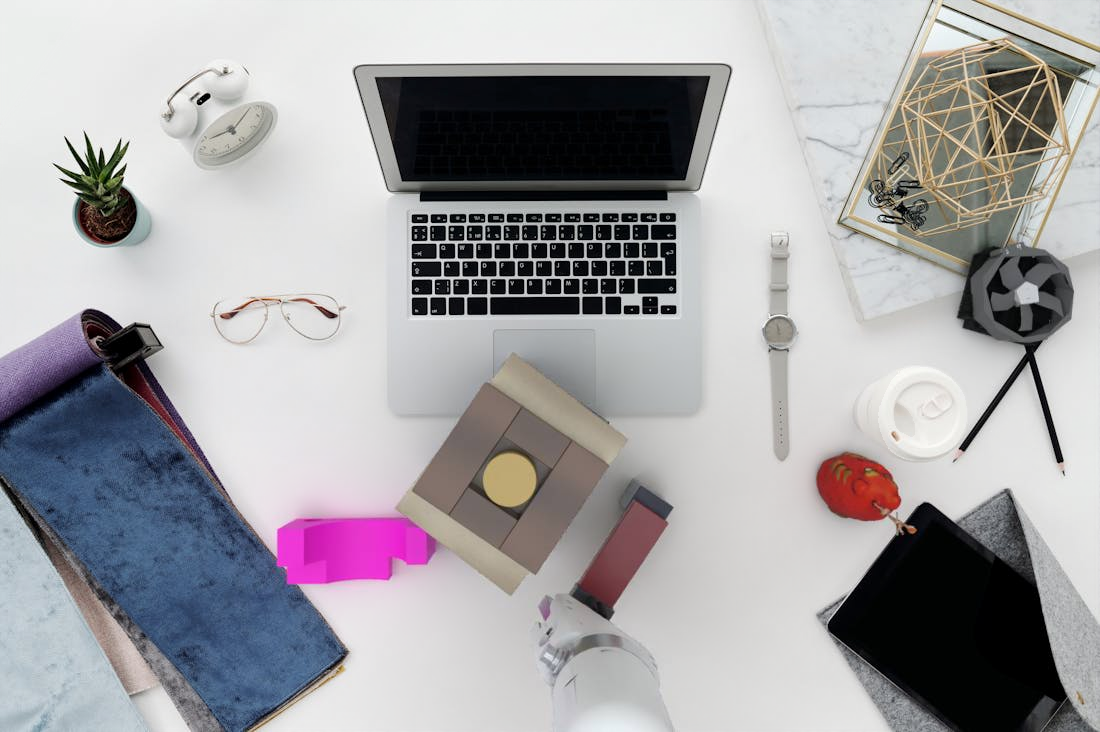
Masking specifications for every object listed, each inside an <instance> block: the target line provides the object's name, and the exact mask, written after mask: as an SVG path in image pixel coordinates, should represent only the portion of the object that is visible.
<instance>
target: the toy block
mask: <svg viewBox="0 0 1100 732" xmlns="http://www.w3.org/2000/svg"><path fill="white" fill-rule="evenodd" d="M435 554H436V539H435V538H433V537H432V536H431V535H429V534H428V533H427V532H425V531H424V530H423V529H421V528H420V527H419V526H417V525H416V524H415V523H414V522H412V521H411V520H410V519H408V518H407V517H406V516H404V517H402V516H401V517H341V518H340V517H337V518H336V517H334V518H333V517H332V518H331V517H329V518H325V517H324V518H296V519H294V520H291V521H290V522H288V523H287V524H284V525H282V526H280V527H279V528H276V567H277V568H286V585H328V584H332V583H338V582H339V583H340V582H345V581H347V582H348V581H360V580H361V581H362V580H378V581H389V580H390V579H391V578H392V577H393V558H394V559H398V560H400V561H403V562H405V564H406V566H427V565H428V564H429V562H430V561H431V559H432V558H433V556H434V555H435Z"/></svg>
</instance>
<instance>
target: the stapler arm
mask: <svg viewBox="0 0 1100 732" xmlns="http://www.w3.org/2000/svg"><path fill="white" fill-rule="evenodd" d="M668 525H669V522H668V521H667V519H666V520H665V519H663V518H662V517H660V516H659V515H657V514H656V513H654V512H653V511H652V510H650V509H649V508H647V507H646V506H644V505H643V504H641V503H640V502H638V501H637V500H635V499H633V500H632V501H631V503H630V504H629V506H628V507H627V509H626V510H625V509H624V512H623V513H622V514H621V516H620V518H619V519H618V521H617V522H616V524H615V525H614V527H613V528H612V529H611V531H610V533H609V534H608V536H607V537H606V538H605V540H604V542H603V543H602V545H601V546H600V548H599V549H598V551H597V552H596V554H595V555H594V556H593V558H592V560H591V561H590V562H589V564H588V565H587V567H586V569H585V570H584V571H583V572H582V574H581V576H580V577H579V579H578V581H576V582H575V584H574V585H573V587H572V588H571V589H570V591H569V592H568V595H570V596H571V597H573V598H575V599H576V600H578V601H581V602H582V603H585V602H586V600H587V599H588V597H589V596H590V595H591V596H592V597H594V598H595V600H596V602H601V603H603V604H604V606H605V609H606V613H607V618H606V619H607V620H609V621H610V622H611V619H612V618H613V616H614V615H615V609H614V606H615V605H616V603H617V602H618V601H619V599H620V597H621V596H622V595H623V593H624V591H625V590H626V588H627V587H628V586H629V584H630V583H631V581H632V579H633V578H634V577H635V575H636V573H637V572H638V571H639V569H640V568H641V566H642V564H643V563H644V562H645V560H646V558H647V557H648V556H649V554H650V553H651V551H652V550H653V548H654V546H655V545H656V543H657V542H658V540H659V539H660V538H661V536H662V534H663V533H664V531H665V530H666V528H667V527H668Z"/></svg>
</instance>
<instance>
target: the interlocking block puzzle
mask: <svg viewBox="0 0 1100 732" xmlns="http://www.w3.org/2000/svg"><path fill="white" fill-rule="evenodd" d="M628 441H629V438H627V437H626V436H625V435H623V434H622V433H620V432H619V431H618V430H617V429H615V428H614V427H613V426H612V425H610V421H609V420H607V419H605V418H604V417H603V416H601V415H599V414H598V413H596V411H593V410H592V409H590V407H587V405H585V404H583V403H582V402H580V401H579V400H577V399H576V398H575V397H573V396H572V395H570V394H569V393H568V392H566V390H564V389H562V388H561V387H560V386H558V384H556V383H555V382H554V381H552V380H550V379H549V378H548V377H547V376H545V375H544V374H543V373H541V372H540V371H538V370H537V368H535V367H533V366H532V365H531V364H529V363H528V362H527V361H525V360H524V359H523V358H521V357H520V356H519V355H517V354H516V353H515V352H512V353H511V354H510V356H509V357H508V358H507V359H506V361H504V362H503V363H502V364H501V367H500V368H499V369H498V372H497V373H496V374H495V375H494V376H493V377H492V379H491V380H490V382H489V381H485V382H484V383H483V384H482V386H481V387H480V389H479V390H478V392H477V393H476V395H475V396H474V398H473V399H472V400H471V402H470V404H469V405H468V407H467V408H466V409H465V411H464V412H463V414H462V415H461V417H460V418H459V419H458V421H457V423H456V424H455V426H453V428H452V430H451V431H450V433H449V434H448V436H447V437H446V439H445V440H444V441H443V443H442V445H441V446H440V448H439V449H438V450H437V452H436V453H435V454H434V456H433V457H432V458H431V459H430V461H429V462H428V464H427V465H426V466H425V468H424V469H423V470H422V472H421V473H420V474H419V476H417V477H416V480H415V481H414V482H413V483H412V485H411V486H410V487H409V489H408V490H407V491H406V492H405V494H404V495H403V496H402V498H401V499H400V501H399V502H398V503H397V505H396V506H395V507H394V509H395V510H396V511H397V512H399V513H400V514H401V515H402V516H404V517H407V518H408V519H410V520H411V521H412V522H414V523H415V524H416V525H417V526H419V527H420V528H421V529H423V530H424V531H425V532H427V533H428V534H429V535H431V536H432V537H433V538H435V541H436V542H438V543H439V544H441V545H442V546H444V547H445V548H446V549H448V550H449V551H451V552H452V553H453V554H454V555H455V556H457V557H458V558H460V559H461V560H462V561H464V562H465V563H466V564H467V565H468V566H469V567H472V569H474V570H475V571H477V572H478V573H479V574H480V575H482V577H485V578H486V579H487V580H489V581H490V583H493V584H494V585H495V586H496V587H498V588H499V589H501V590H502V591H503V592H504V593H506V594H507V595H508V596H510V597H512V595H513V594H514V593H515V591H516V590H517V589H518V588H519V586H520V585H521V584H522V582H523V581H524V580H525V578H526V577H527V576H528V575H529V573H531V574H533V575H535V576H536V575H537V574H538V573H539V571H540V570H541V568H542V566H543V565H544V564H545V562H546V560H547V559H548V558H549V557H550V555H551V553H552V552H553V550H554V549H555V548H556V546H557V544H558V543H559V541H560V540H561V538H562V537H563V535H564V533H566V531H567V530H568V528H569V526H570V525H571V523H572V522H573V520H574V519H575V518H576V516H577V515H578V513H579V511H580V510H581V509H582V507H583V505H584V504H585V502H586V501H587V499H588V498H589V497H590V495H591V493H592V492H593V490H594V489H595V488H596V486H597V485H598V483H599V482H600V480H601V479H602V477H603V476H604V475H605V473H606V472H607V470H608V469H609V466H610V465H611V464H612V462H613V460H614V459H616V457H617V455H618V454H619V453H620V452H621V450H622V449H623V447H624V446H625V445H626V444H627V443H628ZM506 450H516V451H520V452H522V453H524V454H526V455H527V456H528V457H529V458H530V459H531V460H532V461H533V463H534V465H535V467H536V472H537V482H536V487H535V490H534V493H533V494H532V496H531V497H530V498H529V499H528V500H527V501H526V502H525V503H523V504H521V505H518V506H515V507H505V506H501V505H498V504H497V503H495V502H493V501H492V500H491V499H490V498H489V497H488V495H487V494H486V492H485V489H484V486H483V474H484V471H485V469H486V467H487V465H488V464H489V462H490V461H491V459H492V458H493V457H494V456H496V455H497V454H499V453H500V452H503V451H506Z"/></svg>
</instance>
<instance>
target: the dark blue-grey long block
mask: <svg viewBox="0 0 1100 732" xmlns="http://www.w3.org/2000/svg"><path fill="white" fill-rule="evenodd" d="M622 493H623V494H622V495H621V496H620V497H619V499H618V502H619V503H620V505H621V507H622V508H623V509H624V511H625V510H626V509H627V507H628V506H629V504H630V503H631V501H632V500H633V499H635V500H637V501H638V502H640V503H641V504H643V505H644V506H646V507H647V508H649V509H650V510H652V511H653V512H654V513H656V514H657V515H659V516H660V517H662V518H663V519H665V520H666V521H667V519H668V517H669V515H670V514H671V512H672V511H673V510H674V506H673V505H672V504H671V503H669V502H668V501H667V500H666V499H665V498H664V497H663V496H661V494H658V493H657V492H655V491H654V490H653V489H651V488H650V487H648V486H646V485H645V484H643V483H642V482H640V481H639V480H637V479H636V478H635V477H634V478H632V480H630V483H628V486H627V488H626V489H625V490H624V492H622Z"/></svg>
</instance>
